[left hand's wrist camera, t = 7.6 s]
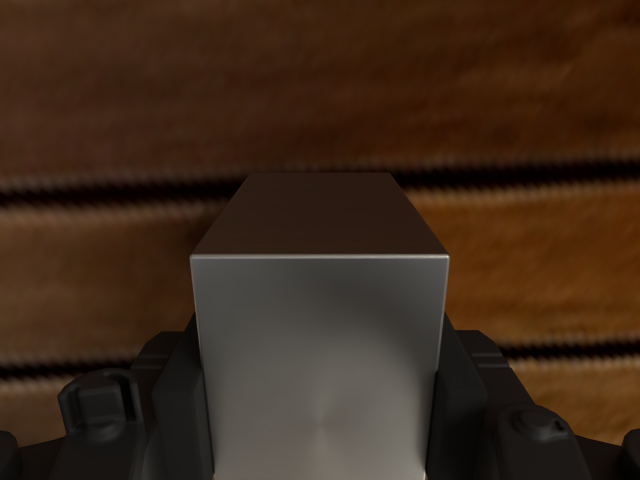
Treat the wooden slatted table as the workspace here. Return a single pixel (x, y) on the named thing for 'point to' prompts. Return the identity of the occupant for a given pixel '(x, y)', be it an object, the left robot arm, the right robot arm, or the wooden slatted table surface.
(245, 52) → the wooden slatted table surface
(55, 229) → the wooden slatted table surface
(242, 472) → the brick
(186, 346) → the left robot arm
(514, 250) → the wooden slatted table surface
